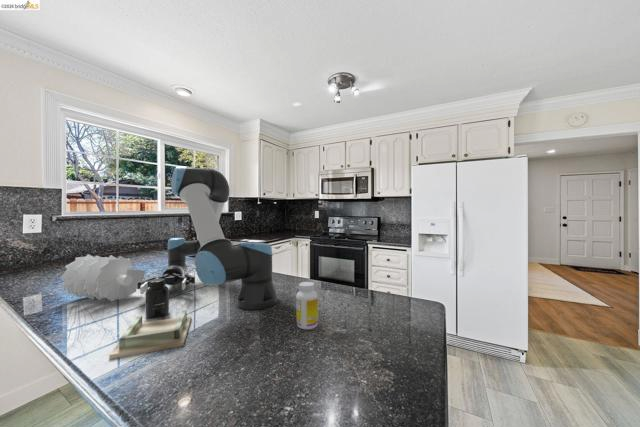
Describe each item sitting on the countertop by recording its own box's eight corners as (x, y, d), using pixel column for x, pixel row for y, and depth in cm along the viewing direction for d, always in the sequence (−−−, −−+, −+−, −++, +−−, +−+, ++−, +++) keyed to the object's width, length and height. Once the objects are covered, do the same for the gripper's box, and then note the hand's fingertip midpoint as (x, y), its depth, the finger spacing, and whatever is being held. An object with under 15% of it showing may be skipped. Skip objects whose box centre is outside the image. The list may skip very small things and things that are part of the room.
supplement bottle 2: (321, 322, 81) (320, 281, 80) (313, 331, 74) (313, 288, 74) (301, 319, 83) (301, 280, 83) (292, 328, 77) (292, 286, 76)
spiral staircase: (116, 314, 99) (69, 305, 105) (153, 283, 114) (110, 277, 120) (94, 277, 91) (45, 270, 97) (137, 249, 106) (92, 244, 112)
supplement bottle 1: (158, 319, 84) (157, 283, 84) (140, 318, 85) (139, 282, 85) (173, 311, 91) (173, 277, 91) (157, 310, 92) (156, 277, 92)
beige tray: (133, 327, 79) (133, 315, 79) (191, 318, 84) (191, 308, 84) (109, 359, 62) (108, 344, 62) (183, 345, 68) (183, 332, 68)
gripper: (203, 280, 121) (199, 293, 101) (141, 286, 112) (123, 302, 92) (203, 264, 121) (199, 275, 101) (140, 269, 112) (122, 282, 92)
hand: (162, 288), depth 96 cm, fingers open, 13 cm apart
